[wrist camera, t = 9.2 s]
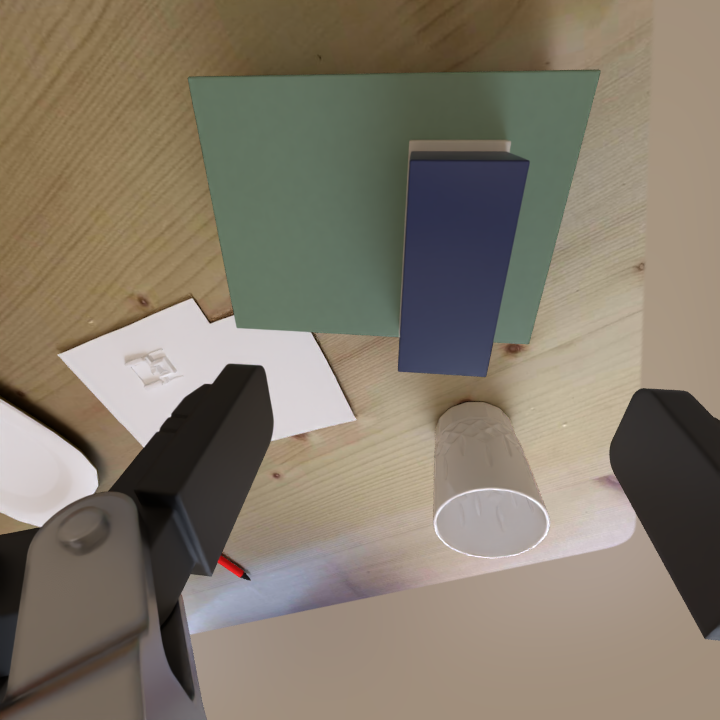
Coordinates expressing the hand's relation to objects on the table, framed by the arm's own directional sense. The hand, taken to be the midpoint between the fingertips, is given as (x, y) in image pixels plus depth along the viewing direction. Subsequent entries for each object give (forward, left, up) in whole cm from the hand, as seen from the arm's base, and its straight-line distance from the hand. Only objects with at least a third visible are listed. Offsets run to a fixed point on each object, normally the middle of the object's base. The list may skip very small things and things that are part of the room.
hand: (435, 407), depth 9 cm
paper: (+16, -19, -21) cm, 32 cm away
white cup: (+19, +6, -21) cm, 29 cm away
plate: (+28, -47, -21) cm, 58 cm away
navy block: (0, +1, -14) cm, 14 cm away
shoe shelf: (-1, -2, -21) cm, 21 cm away
